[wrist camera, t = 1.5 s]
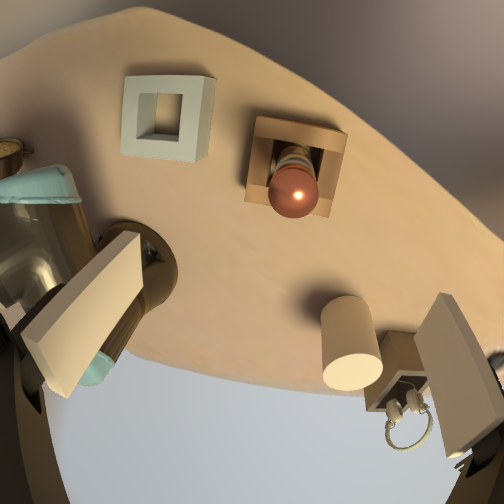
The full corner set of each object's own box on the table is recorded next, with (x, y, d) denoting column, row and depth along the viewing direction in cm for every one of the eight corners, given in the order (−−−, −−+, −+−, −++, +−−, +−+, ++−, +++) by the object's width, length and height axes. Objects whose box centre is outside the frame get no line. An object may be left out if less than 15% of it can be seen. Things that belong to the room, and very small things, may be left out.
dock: (139, 148, 36) (120, 155, 32) (144, 77, 31) (125, 76, 27) (207, 155, 36) (195, 162, 31) (216, 79, 31) (204, 76, 27)
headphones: (407, 339, 46) (432, 434, 28) (415, 349, 47) (439, 440, 29) (370, 361, 49) (383, 455, 32) (380, 370, 50) (393, 459, 33)
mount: (249, 191, 37) (244, 201, 34) (260, 115, 32) (256, 116, 29) (325, 206, 37) (328, 217, 33) (342, 131, 32) (347, 134, 28)
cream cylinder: (310, 319, 46) (310, 377, 36) (344, 286, 42) (355, 344, 32) (345, 340, 47) (351, 396, 37) (379, 311, 44) (394, 368, 33)
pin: (276, 173, 36) (264, 213, 24) (281, 142, 34) (272, 165, 22) (307, 179, 36) (312, 222, 23) (313, 149, 34) (323, 175, 21)
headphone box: (361, 374, 51) (366, 411, 43) (388, 330, 45) (398, 370, 37) (397, 376, 51) (404, 412, 43) (426, 335, 45) (439, 371, 37)
